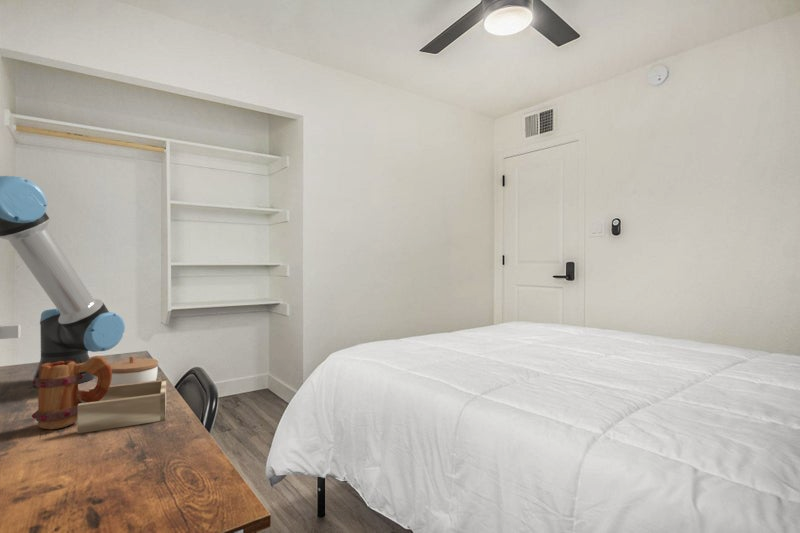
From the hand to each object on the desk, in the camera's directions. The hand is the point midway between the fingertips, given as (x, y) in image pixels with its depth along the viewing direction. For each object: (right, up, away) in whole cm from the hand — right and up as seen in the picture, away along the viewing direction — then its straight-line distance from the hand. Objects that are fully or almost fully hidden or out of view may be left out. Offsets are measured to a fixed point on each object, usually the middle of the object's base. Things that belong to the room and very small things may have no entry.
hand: (19, 331), depth 92 cm
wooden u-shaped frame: (+17, -22, +9) cm, 29 cm away
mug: (+8, -22, +4) cm, 24 cm away
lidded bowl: (+9, -22, +25) cm, 34 cm away
